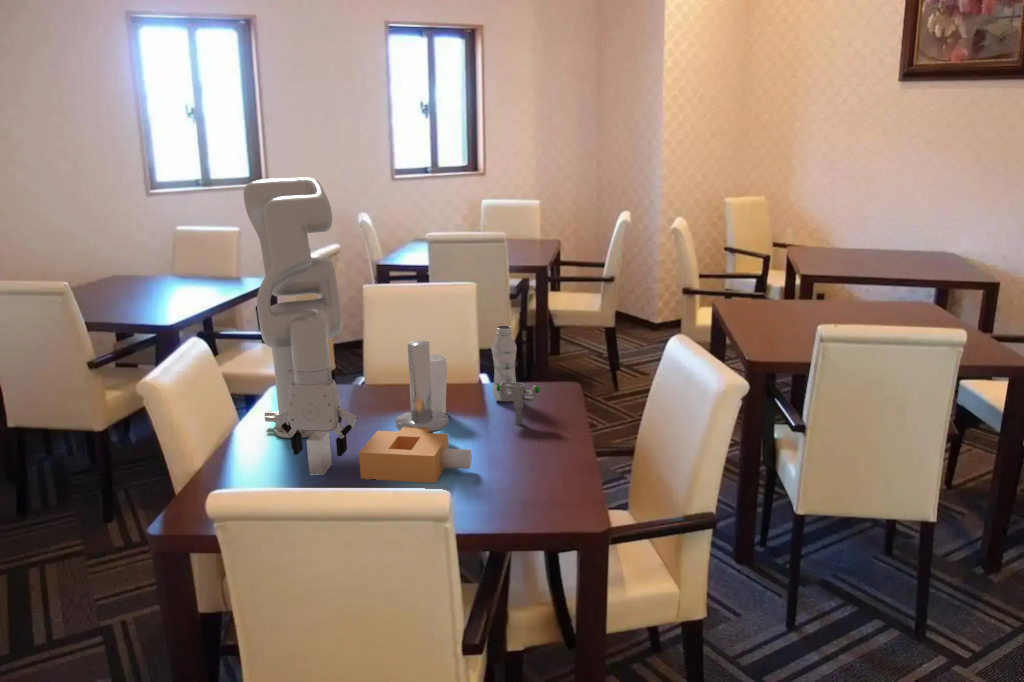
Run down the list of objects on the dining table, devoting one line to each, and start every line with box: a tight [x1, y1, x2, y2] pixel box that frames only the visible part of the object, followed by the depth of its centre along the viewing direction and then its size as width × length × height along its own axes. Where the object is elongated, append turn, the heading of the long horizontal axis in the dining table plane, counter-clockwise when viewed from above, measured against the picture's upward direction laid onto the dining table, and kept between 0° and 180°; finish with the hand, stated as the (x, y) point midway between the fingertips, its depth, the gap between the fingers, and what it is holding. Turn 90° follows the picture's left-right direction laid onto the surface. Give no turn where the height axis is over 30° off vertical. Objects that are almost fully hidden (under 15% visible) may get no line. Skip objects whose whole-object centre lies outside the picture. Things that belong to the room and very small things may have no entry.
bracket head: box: [358, 427, 473, 484], centre depth 173 cm, size 22×15×6 cm
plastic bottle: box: [490, 325, 517, 403], centre depth 210 cm, size 6×7×20 cm
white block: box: [305, 431, 333, 475], centre depth 171 cm, size 3×5×8 cm, turn 171°
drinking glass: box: [430, 353, 448, 414], centre depth 202 cm, size 7×7×15 cm
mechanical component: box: [497, 382, 541, 426], centre depth 195 cm, size 3×10×10 cm, turn 78°
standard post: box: [395, 340, 450, 433], centre depth 182 cm, size 12×12×24 cm
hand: (319, 453), depth 171 cm, fingers open, 9 cm apart
